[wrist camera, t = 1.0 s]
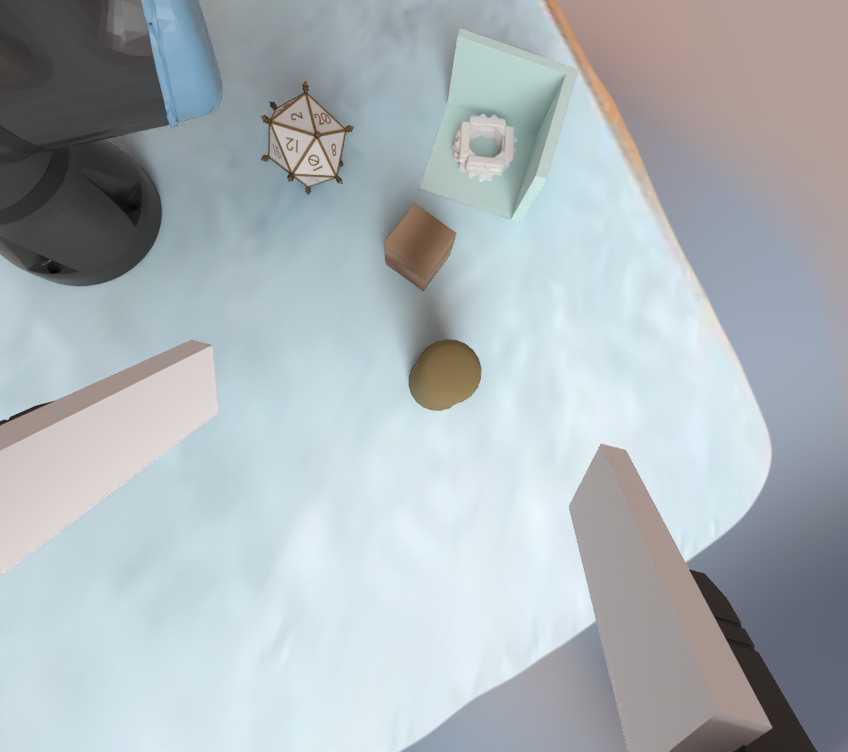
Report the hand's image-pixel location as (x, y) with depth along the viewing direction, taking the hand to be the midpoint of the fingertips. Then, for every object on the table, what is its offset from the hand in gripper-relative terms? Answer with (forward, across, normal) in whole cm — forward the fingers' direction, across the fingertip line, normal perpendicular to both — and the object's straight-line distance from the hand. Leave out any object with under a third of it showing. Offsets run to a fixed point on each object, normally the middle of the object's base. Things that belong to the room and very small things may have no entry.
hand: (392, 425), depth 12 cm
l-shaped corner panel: (+39, -1, +11) cm, 40 cm away
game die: (+33, -18, +7) cm, 39 cm away
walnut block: (+30, -5, 0) cm, 31 cm away
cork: (+24, 0, -10) cm, 26 cm away
